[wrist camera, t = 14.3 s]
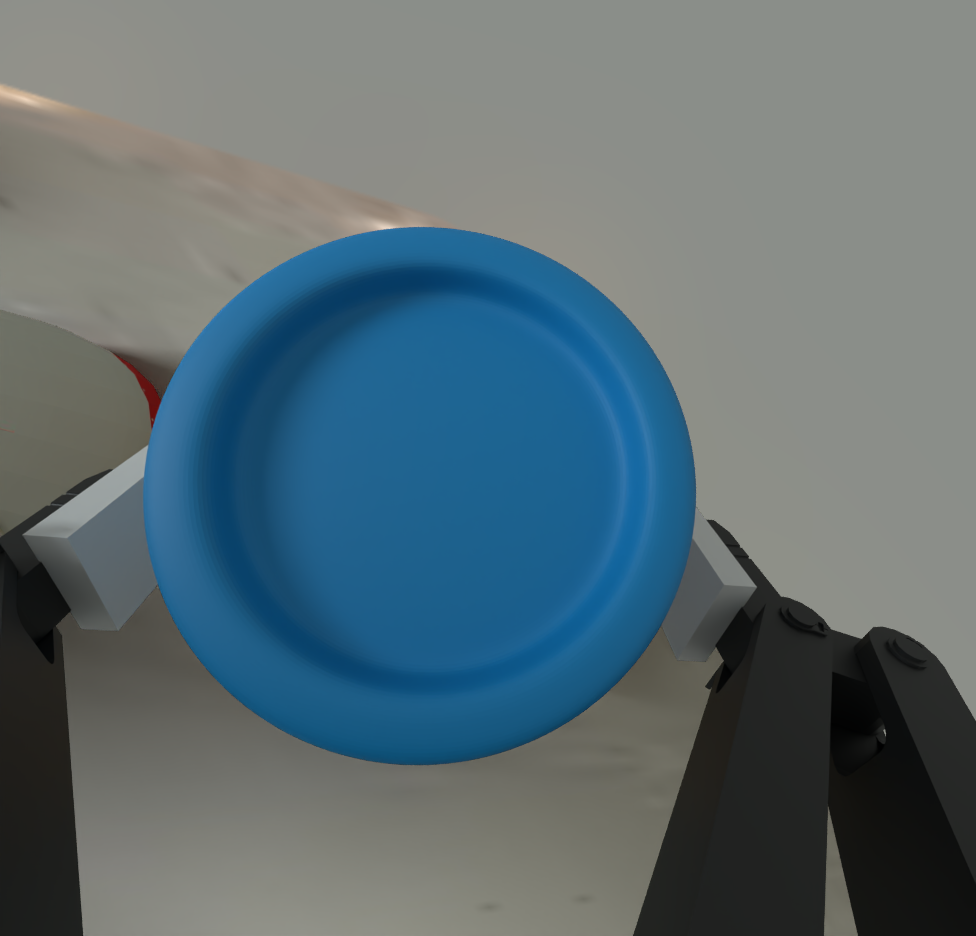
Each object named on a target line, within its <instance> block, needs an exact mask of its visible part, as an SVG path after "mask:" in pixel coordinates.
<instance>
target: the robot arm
mask: <svg viewBox="0 0 976 936" xmlns="http://www.w3.org/2000/svg"><path fill="white" fill-rule="evenodd" d="M147 450H148V445H147V446H146V447H145V448H143V449H142V450H140V451H139V452H138V453H136V454H135V455H133V456H132V457H131V458H129V459H128V460H126V461H125V462H124V463H122V464H121V465H119V466H118V467H117V468H115V469H108V470H106V471H103V472H101V473H99V474H96V475H94V476H91V477H89V478H87V479H84V480H83V481H81V482H80V483H79V484H77V485H76V486H74V487H73V488H71V489H70V490H68V491H67V492H66V495H61V496H60V497H58V498H57V499H55V500H54V501H52V502H51V505H50V506H48V505H46V506H45V507H44V508H42V509H41V510H39V511H38V512H36V513H35V514H33V515H32V516H30V517H29V518H28V519H26V520H25V521H23V522H22V523H20V524H19V525H17V526H16V527H14V528H13V529H12V530H10V531H9V532H7V533H6V534H4V535H3V536H1V537H0V936H83V926H82V912H81V898H80V884H79V870H78V856H77V842H76V828H75V814H74V800H73V785H72V771H71V757H70V743H69V729H68V715H67V701H66V687H65V673H64V658H63V644H62V636H61V634H60V632H59V630H58V628H57V627H56V625H57V624H58V623H59V622H60V621H61V620H62V619H63V618H64V617H65V616H66V615H67V614H68V613H69V612H71V614H72V615H73V617H74V619H75V620H76V622H77V623H78V625H79V627H80V628H81V629H89V630H108V631H119V630H120V628H121V627H122V626H123V625H124V624H125V623H126V621H127V620H128V619H129V618H130V617H131V616H132V614H133V613H134V612H135V611H136V610H137V608H138V607H139V606H140V605H141V604H142V603H143V601H144V600H145V599H146V598H147V597H148V595H149V594H150V593H151V592H152V591H153V590H154V588H155V587H156V586H157V585H158V583H157V580H156V577H155V574H154V570H153V567H152V563H151V559H150V555H149V550H148V545H147V539H146V533H145V524H144V511H143V484H144V471H145V462H146V456H147ZM748 557H749V556H748V555H747V554H746V552H745V551H744V550H743V549H742V548H740V545H739V544H738V542H737V541H736V540H735V539H734V537H733V536H732V535H731V534H730V532H728V531H727V530H726V529H725V528H723V527H722V526H720V525H719V524H718V523H717V522H716V521H714V520H706V519H705V518H704V516H703V515H702V514H701V512H700V511H699V510H698V508H697V507H696V509H695V522H694V530H693V536H692V542H691V547H690V552H689V556H688V560H687V564H686V567H685V571H684V574H683V577H682V580H681V583H680V586H679V588H678V591H677V593H676V596H675V598H674V601H673V603H672V605H671V607H670V609H669V611H668V613H667V615H666V617H665V619H664V621H663V623H662V624H661V626H662V628H663V631H664V633H665V635H666V637H667V639H668V642H669V644H670V646H671V648H672V650H673V653H674V655H675V657H676V659H677V660H681V661H700V662H706V660H707V659H708V657H709V656H710V655H711V653H712V652H713V650H714V649H715V647H716V648H717V649H718V651H719V653H720V655H721V656H722V658H723V660H724V661H723V663H722V664H721V665H720V667H719V668H718V670H717V671H716V672H715V674H714V675H713V676H712V678H711V679H710V681H709V682H708V683H707V685H706V686H705V687H706V688H708V689H709V690H710V689H711V687H712V689H711V692H710V695H709V698H708V701H707V705H706V708H705V711H704V714H703V717H702V720H701V723H700V727H699V730H698V733H697V736H696V739H695V742H694V746H693V749H692V752H691V755H690V758H689V761H688V764H687V768H686V771H685V774H684V777H683V780H682V783H681V786H680V790H679V793H678V796H677V799H676V802H675V805H674V808H673V812H672V815H671V818H670V821H669V824H668V827H667V831H666V834H665V837H664V840H663V843H662V846H661V849H660V853H659V856H658V859H657V862H656V865H655V868H654V871H653V875H652V878H651V881H650V884H649V887H648V890H647V894H646V897H645V900H644V903H643V906H642V909H641V912H640V916H639V919H638V922H637V925H636V928H635V931H634V934H633V936H824V914H825V883H826V851H827V820H828V806H829V811H830V815H831V820H832V824H833V828H834V833H835V837H836V841H837V846H838V850H839V854H840V859H841V863H842V868H843V872H844V876H845V881H846V885H847V889H848V894H849V898H850V903H851V907H852V911H853V916H854V920H855V924H856V929H857V933H858V936H976V721H975V719H974V717H973V716H972V714H971V712H970V710H969V709H968V707H967V705H966V704H965V702H964V700H963V698H962V697H961V695H960V693H959V691H958V690H957V688H956V686H955V685H954V683H953V681H952V679H951V678H950V676H949V674H948V673H947V671H946V669H945V667H944V666H943V665H942V664H941V663H940V661H939V660H938V658H937V657H936V656H935V655H934V654H932V653H931V652H930V651H929V650H928V649H927V648H926V647H924V645H922V644H921V643H919V642H918V641H915V639H913V638H911V637H909V636H907V635H905V634H902V633H900V632H898V631H896V630H893V629H889V628H886V627H873V628H872V629H871V630H870V631H869V632H868V633H867V634H866V635H865V636H864V637H863V638H862V639H860V638H856V637H853V636H850V635H847V634H843V633H841V632H837V631H834V630H831V629H830V627H829V626H828V625H827V623H826V622H825V621H824V619H823V618H821V617H820V616H819V615H818V614H817V613H816V612H814V611H813V610H812V609H810V608H809V607H807V606H805V605H804V604H802V603H800V602H798V601H795V600H792V599H790V598H786V597H781V596H780V595H779V594H778V592H777V591H776V590H775V589H774V587H773V586H772V585H771V584H770V582H769V581H768V580H767V579H766V577H765V576H764V575H763V574H762V572H761V571H760V570H759V569H758V567H757V566H756V565H755V564H754V562H753V561H752V560H751V559H749V558H748ZM884 729H885V730H886V736H885V734H884V731H883V730H884Z"/></svg>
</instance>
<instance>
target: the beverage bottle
mask: <svg viewBox="0 0 976 936" xmlns="http://www.w3.org/2000/svg"><path fill="white" fill-rule="evenodd" d="M695 509H696V479H695V467H694V459H693V452H692V446H691V441H690V437H689V432H688V428H687V425H686V421H685V418H684V415H683V412H682V409H681V406H680V403H679V400H678V398H677V396H676V393H675V391H674V388H673V386H672V384H671V382H670V380H669V378H668V376H667V374H666V372H665V370H664V368H663V366H662V365H661V363H660V361H659V359H658V358H657V356H656V355H655V353H654V351H653V350H652V348H651V347H650V345H649V344H648V343H647V341H646V340H645V338H644V337H643V336H642V334H641V333H640V332H639V331H638V329H637V328H636V327H635V326H634V325H633V324H632V322H631V321H630V320H629V319H628V318H627V317H626V316H625V314H623V312H622V311H621V310H620V309H619V308H618V307H617V306H616V305H615V304H614V303H613V302H611V301H610V300H609V299H608V298H607V297H606V296H605V295H604V294H602V293H601V292H600V291H599V290H598V289H596V288H595V287H594V286H592V285H591V284H590V283H589V282H587V281H586V280H585V279H583V278H582V277H580V276H579V275H578V274H576V273H574V272H573V271H571V270H570V269H568V268H567V267H565V266H563V265H562V264H560V263H558V262H556V261H554V260H552V259H551V258H549V257H546V256H545V255H542V254H540V253H538V252H536V251H534V250H531V249H529V248H526V247H524V246H521V245H519V244H516V243H513V242H510V241H507V240H504V239H501V238H497V237H493V236H489V235H485V234H481V233H476V232H471V231H465V230H457V229H449V228H435V227H408V228H394V229H385V230H378V231H372V232H367V233H362V234H357V235H353V236H349V237H345V238H342V239H339V240H335V241H332V242H329V243H326V244H324V245H321V246H318V247H316V248H313V249H311V250H309V251H306V252H304V253H302V254H300V255H298V256H296V257H294V258H292V259H290V260H288V261H286V262H284V263H282V264H281V265H279V266H277V267H276V268H274V269H272V270H271V271H269V272H268V273H266V274H264V275H263V276H262V277H260V278H259V279H257V280H256V281H254V282H253V283H252V284H250V285H249V286H248V287H247V288H245V289H244V290H243V291H242V292H240V293H239V294H238V295H237V296H236V297H235V298H233V299H232V300H231V301H230V302H229V303H228V304H227V305H226V306H225V307H224V308H223V309H222V310H221V311H220V312H219V313H218V314H217V315H216V316H215V317H214V318H213V319H212V320H211V321H210V323H209V324H208V325H207V326H206V327H205V328H204V330H203V331H202V332H201V333H200V335H199V336H198V337H197V339H196V340H195V341H194V343H193V344H192V346H191V347H190V348H189V350H188V351H187V353H186V354H185V356H184V358H183V359H182V361H181V363H180V364H179V366H178V368H177V369H176V371H175V373H174V375H173V377H172V379H171V381H170V383H169V385H168V387H167V389H166V392H165V394H164V396H163V399H162V401H161V404H160V406H159V409H158V412H157V415H156V418H155V421H154V425H153V428H152V432H151V436H150V440H149V445H148V450H147V456H146V462H145V471H144V484H143V511H144V524H145V533H146V539H147V545H148V550H149V555H150V559H151V563H152V567H153V570H154V574H155V577H156V580H157V583H158V586H159V589H160V591H161V594H162V596H163V599H164V601H165V604H166V606H167V608H168V610H169V612H170V614H171V616H172V618H173V620H174V622H175V624H176V626H177V627H178V629H179V631H180V633H181V634H182V636H183V637H184V639H185V641H186V642H187V644H188V645H189V647H190V648H191V649H192V651H193V652H194V654H195V655H196V656H197V658H198V659H199V660H200V662H201V663H202V664H203V665H204V666H205V668H206V669H207V670H208V671H209V672H210V673H211V675H212V676H213V677H214V678H215V679H216V680H217V681H218V682H219V683H220V684H221V685H222V686H223V687H224V688H225V689H226V690H227V691H228V692H229V693H230V694H232V695H233V696H234V697H235V698H236V699H237V700H239V701H240V702H241V703H242V704H243V705H245V706H246V707H247V708H249V709H250V710H251V711H253V712H254V713H255V714H257V715H258V716H260V717H261V718H263V719H264V720H266V721H267V722H269V723H270V724H272V725H274V726H275V727H277V728H279V729H281V730H282V731H284V732H286V733H288V734H290V735H292V736H294V737H296V738H298V739H300V740H302V741H305V742H307V743H309V744H312V745H314V746H317V747H320V748H322V749H325V750H328V751H331V752H334V753H338V754H341V755H345V756H349V757H353V758H357V759H362V760H367V761H373V762H380V763H388V764H400V765H436V764H448V763H456V762H463V761H469V760H474V759H479V758H483V757H487V756H491V755H495V754H498V753H501V752H505V751H508V750H511V749H513V748H516V747H519V746H521V745H524V744H526V743H529V742H531V741H533V740H536V739H538V738H540V737H542V736H544V735H546V734H548V733H550V732H552V731H554V730H555V729H557V728H559V727H561V726H562V725H564V724H566V723H567V722H569V721H570V720H572V719H574V718H575V717H577V716H578V715H579V714H581V713H582V712H584V711H585V710H586V709H588V708H589V707H590V706H592V705H593V704H594V703H595V702H597V701H598V700H599V699H600V698H601V697H603V696H604V695H605V694H606V693H607V692H608V691H609V690H610V689H611V688H612V687H613V686H615V685H616V684H617V683H618V682H619V681H620V679H621V678H622V677H623V676H624V675H625V674H626V673H627V672H628V671H629V670H630V669H631V667H632V666H633V665H634V664H635V663H636V661H637V660H638V659H639V658H640V656H641V655H642V654H643V652H644V651H645V650H646V648H647V647H648V645H649V644H650V642H651V641H652V639H653V638H654V636H655V635H656V633H657V631H658V630H659V628H660V626H661V624H662V623H663V621H664V619H665V617H666V615H667V613H668V611H669V609H670V607H671V605H672V603H673V601H674V598H675V596H676V593H677V591H678V588H679V586H680V583H681V580H682V577H683V574H684V571H685V567H686V564H687V560H688V556H689V552H690V547H691V542H692V536H693V530H694V522H695Z"/></svg>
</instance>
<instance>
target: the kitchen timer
mask: <svg viewBox="0 0 976 936" xmlns="http://www.w3.org/2000/svg"><path fill="white" fill-rule="evenodd" d="M160 404H161V400H160V398H159V396H158V394H157V392H156V390H155V388H154V386H153V385H152V384H151V383H150V382H149V381H148V380H147V379H146V378H145V377H144V376H143V375H142V374H140V373H139V372H138V371H137V370H136V369H135V368H134V367H133V366H132V365H131V364H129V363H128V362H126V361H125V360H123V359H121V358H120V357H118V356H117V355H115V354H113V353H112V352H110V351H108V350H106V349H104V348H102V347H100V346H98V345H96V344H94V343H92V342H90V341H88V340H86V339H84V338H82V337H80V336H78V335H76V334H74V333H72V332H69V331H67V330H65V329H62V328H60V327H57V326H54V325H51V324H48V323H45V322H42V321H38V320H35V319H31V318H28V317H24V316H21V315H17V314H14V313H10V312H6V311H3V310H0V537H1V536H3V535H4V534H6V533H7V532H9V531H10V530H12V529H13V528H14V527H16V526H17V525H19V524H20V523H22V522H23V521H25V520H26V519H28V518H29V517H30V516H32V515H33V514H35V513H36V512H38V511H39V510H41V509H42V508H44V507H45V506H46V505H48V506H50V505H51V502H52V501H54V500H55V499H57V498H58V497H60V496H61V495H66V492H67V491H68V490H70V489H71V488H73V487H74V486H76V485H77V484H79V483H80V482H81V481H83V480H84V479H87V478H89V477H91V476H94V475H96V474H99V473H101V472H103V471H106V470H108V469H115V468H117V467H118V466H119V465H121V464H122V463H124V462H125V461H126V460H128V459H129V458H131V457H132V456H133V455H135V454H136V453H138V452H139V451H140V450H142V449H143V448H145V447H146V446H147V445H149V440H150V436H151V432H152V428H153V425H154V421H155V418H156V415H157V412H158V409H159V406H160Z"/></svg>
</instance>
